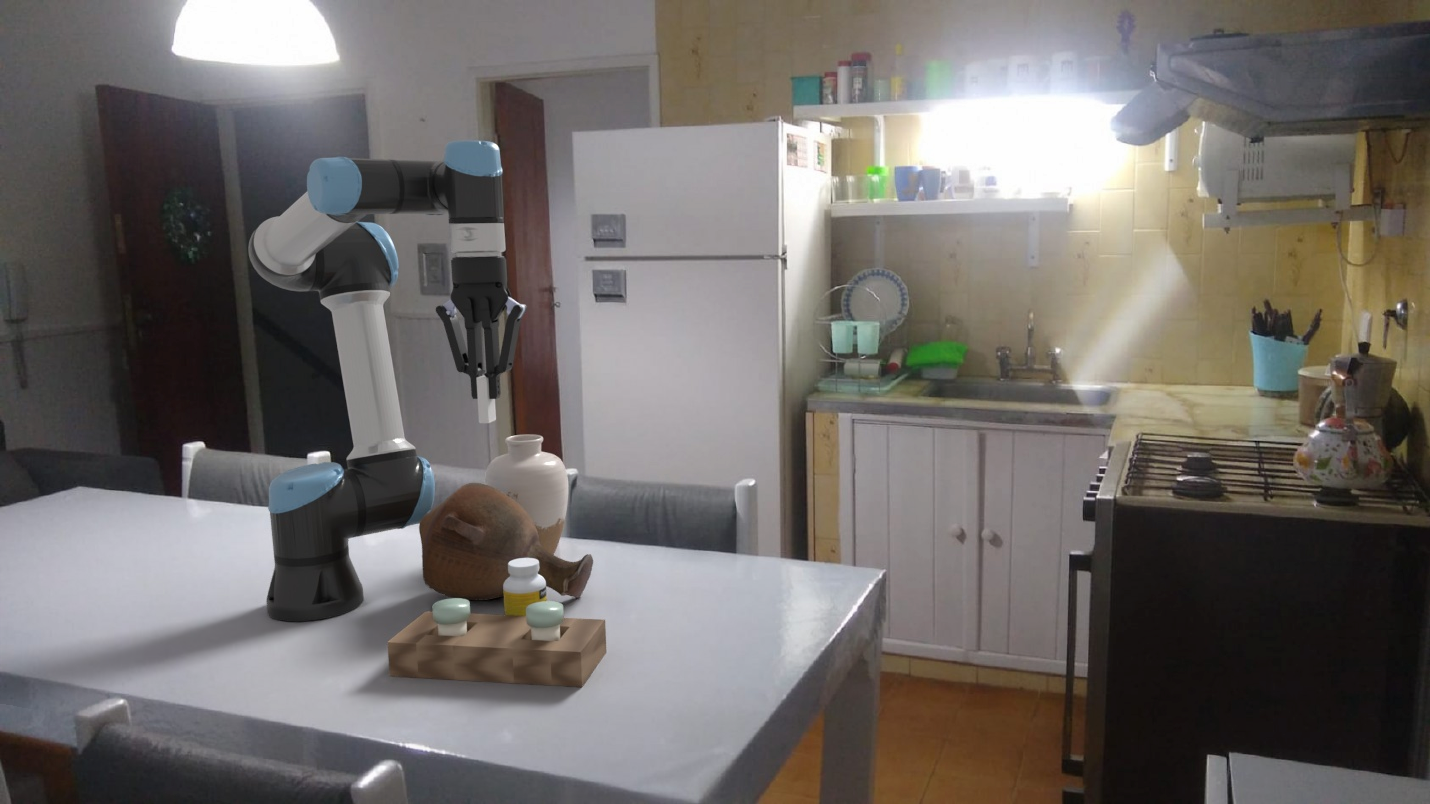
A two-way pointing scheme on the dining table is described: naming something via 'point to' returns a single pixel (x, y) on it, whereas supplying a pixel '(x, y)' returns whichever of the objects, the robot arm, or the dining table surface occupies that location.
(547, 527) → the vase
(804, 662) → the dining table surface
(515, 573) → the pill bottle
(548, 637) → the knob
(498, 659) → the mount
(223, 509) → the dining table surface
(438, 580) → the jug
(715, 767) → the dining table surface
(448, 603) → the knob
